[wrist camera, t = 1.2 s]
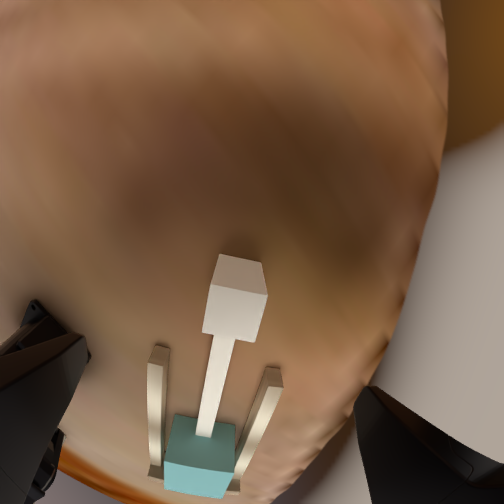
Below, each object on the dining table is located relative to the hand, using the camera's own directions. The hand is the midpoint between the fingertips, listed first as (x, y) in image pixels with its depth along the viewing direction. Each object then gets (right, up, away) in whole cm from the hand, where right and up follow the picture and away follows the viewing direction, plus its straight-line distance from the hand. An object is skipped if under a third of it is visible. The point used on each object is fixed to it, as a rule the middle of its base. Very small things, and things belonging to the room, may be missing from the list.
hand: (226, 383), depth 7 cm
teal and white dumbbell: (-2, -6, +11) cm, 13 cm away
